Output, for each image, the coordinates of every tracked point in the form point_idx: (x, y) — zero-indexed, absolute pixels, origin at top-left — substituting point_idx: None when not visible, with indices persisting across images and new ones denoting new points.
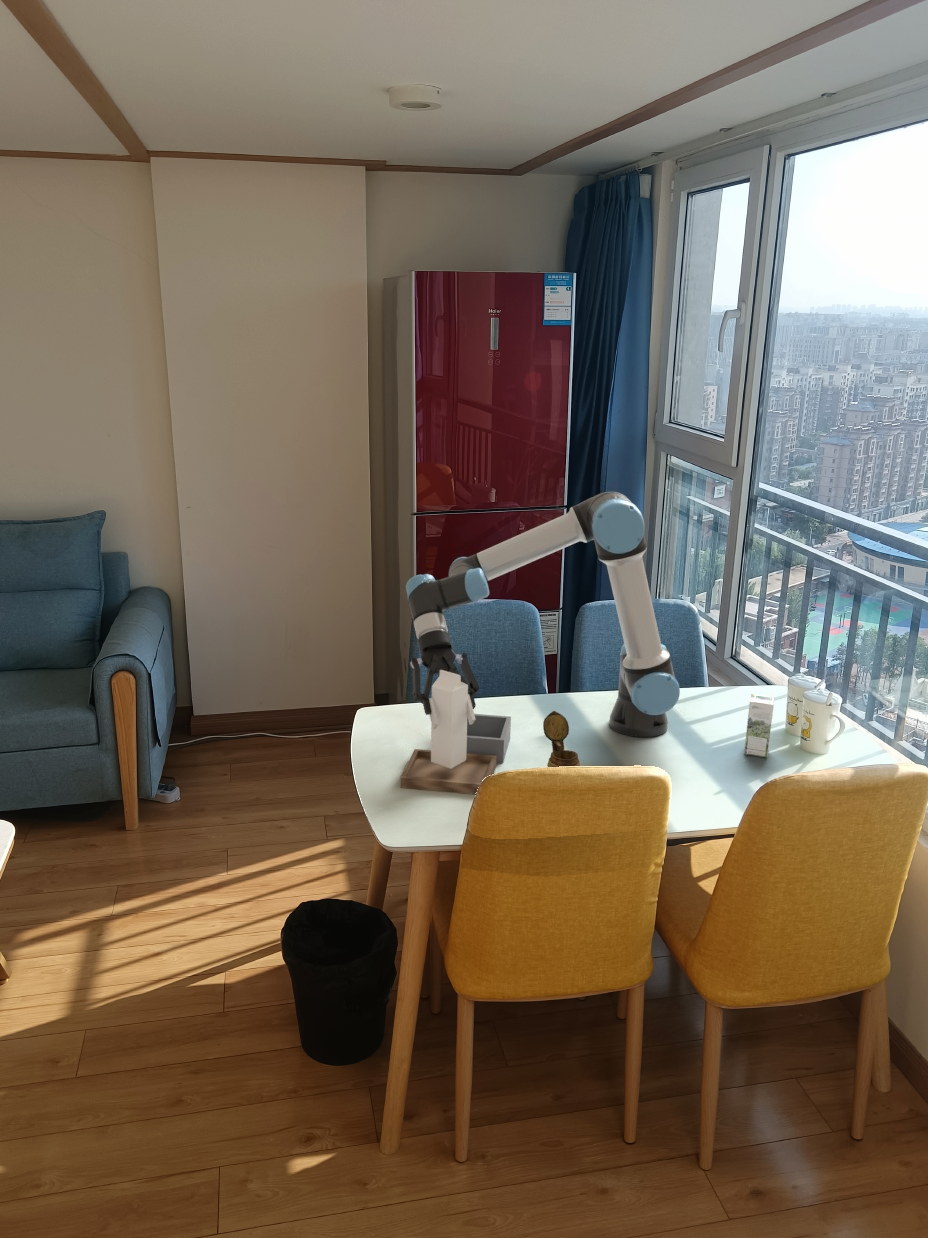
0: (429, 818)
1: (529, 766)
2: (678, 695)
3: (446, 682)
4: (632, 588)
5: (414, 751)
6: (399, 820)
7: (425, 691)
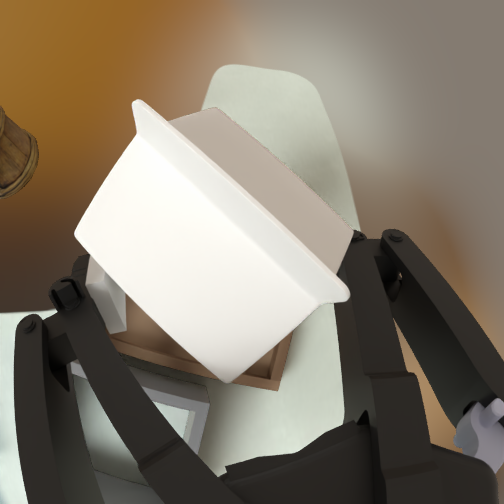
0: (252, 118)
1: (20, 317)
2: None
3: (258, 190)
4: None
5: (279, 376)
6: (302, 122)
7: (368, 254)
